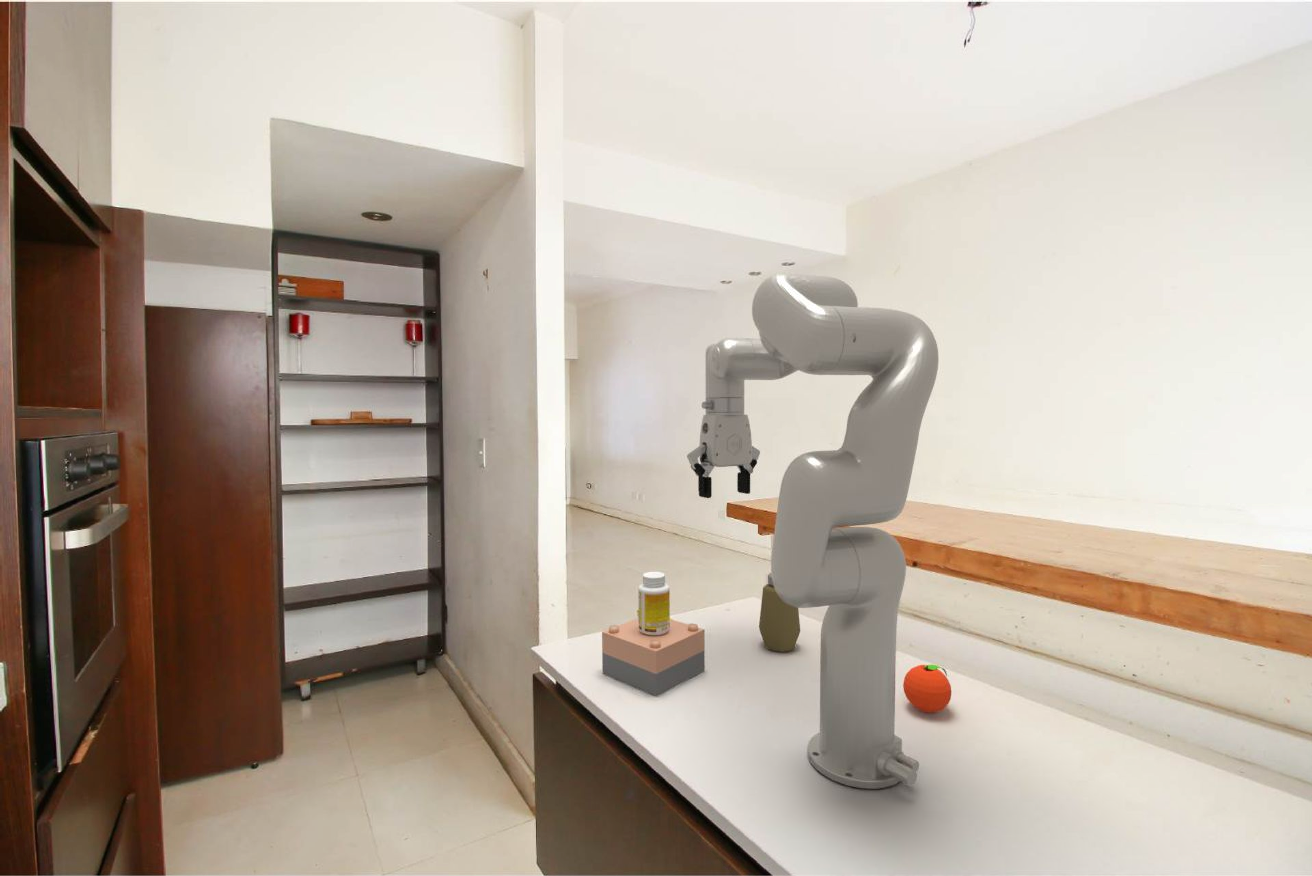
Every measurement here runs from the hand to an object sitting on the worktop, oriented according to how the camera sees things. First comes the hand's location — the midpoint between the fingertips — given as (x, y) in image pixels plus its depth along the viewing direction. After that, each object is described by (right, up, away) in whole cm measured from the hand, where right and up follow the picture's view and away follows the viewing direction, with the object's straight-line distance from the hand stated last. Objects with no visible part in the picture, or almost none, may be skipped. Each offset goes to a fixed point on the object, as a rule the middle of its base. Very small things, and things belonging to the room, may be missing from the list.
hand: (724, 495), depth 119 cm
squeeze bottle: (+11, -30, +2) cm, 32 cm away
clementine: (+29, -32, -23) cm, 49 cm away
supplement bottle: (-14, -24, -10) cm, 29 cm away
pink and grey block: (-14, -31, -10) cm, 35 cm away
